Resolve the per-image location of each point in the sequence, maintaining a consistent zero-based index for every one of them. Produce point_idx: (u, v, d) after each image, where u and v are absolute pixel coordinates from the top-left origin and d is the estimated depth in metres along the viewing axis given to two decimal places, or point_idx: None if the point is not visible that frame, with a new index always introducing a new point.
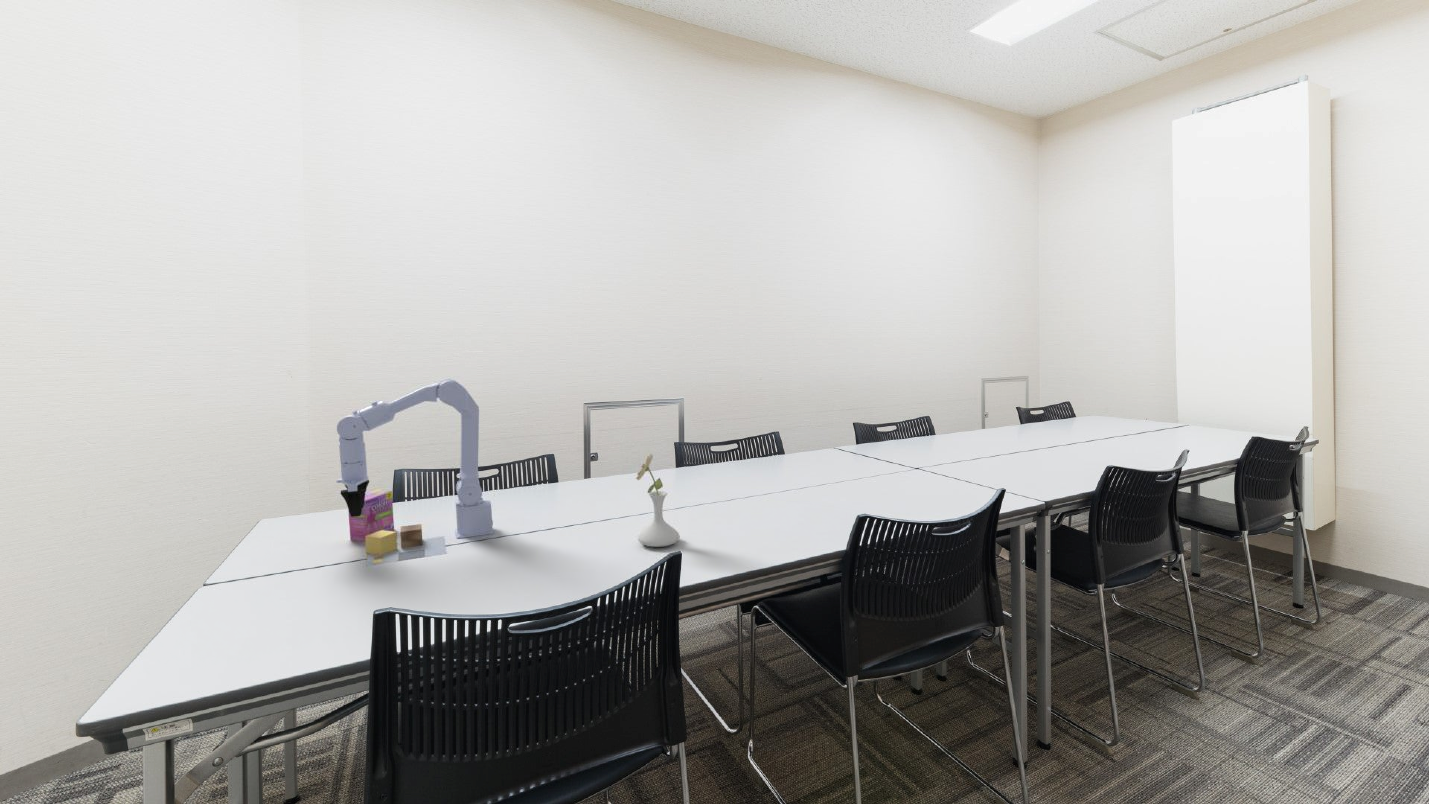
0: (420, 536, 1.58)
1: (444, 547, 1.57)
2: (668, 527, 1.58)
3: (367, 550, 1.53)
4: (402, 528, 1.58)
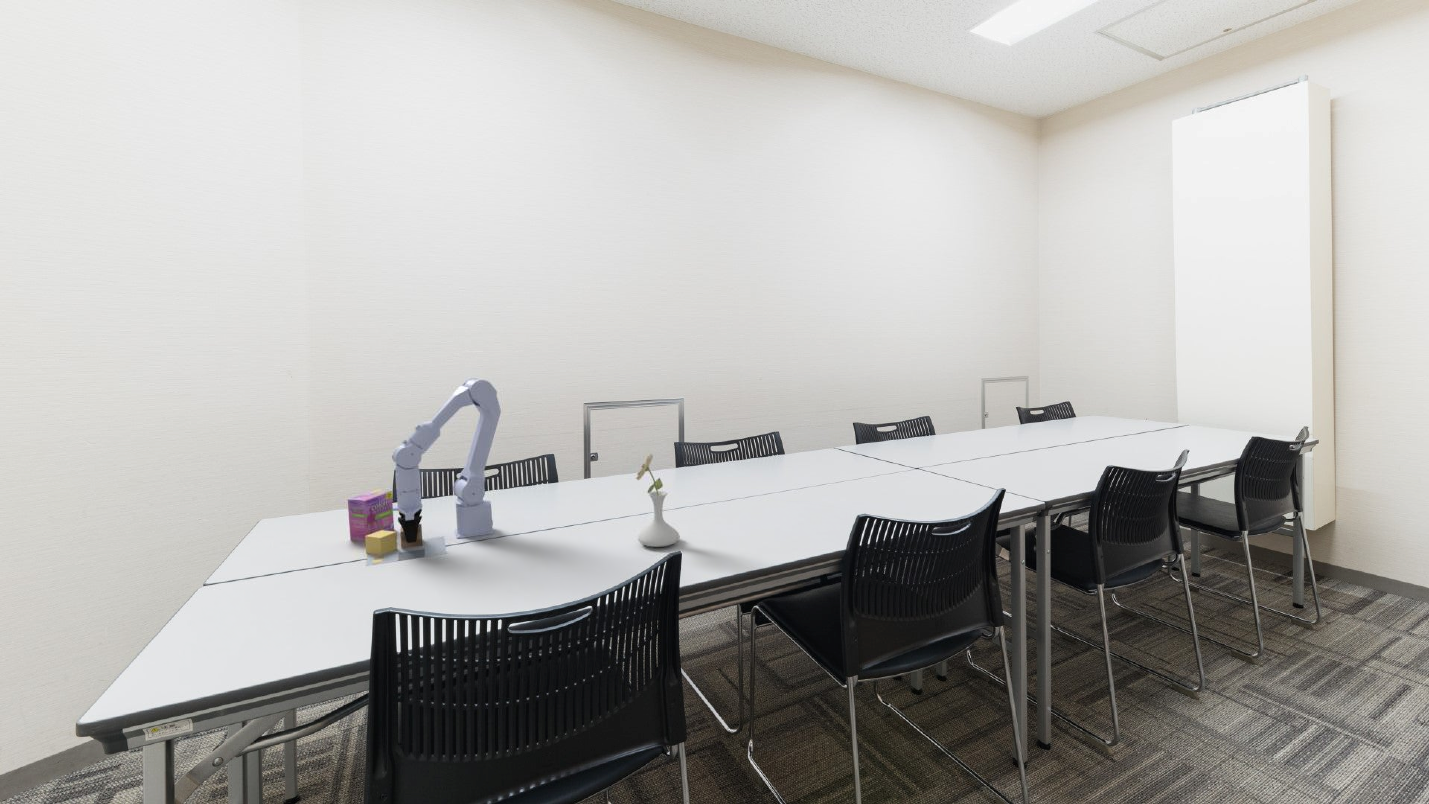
0: (420, 536, 1.58)
1: (444, 547, 1.57)
2: (668, 527, 1.58)
3: (367, 550, 1.53)
4: (402, 528, 1.58)
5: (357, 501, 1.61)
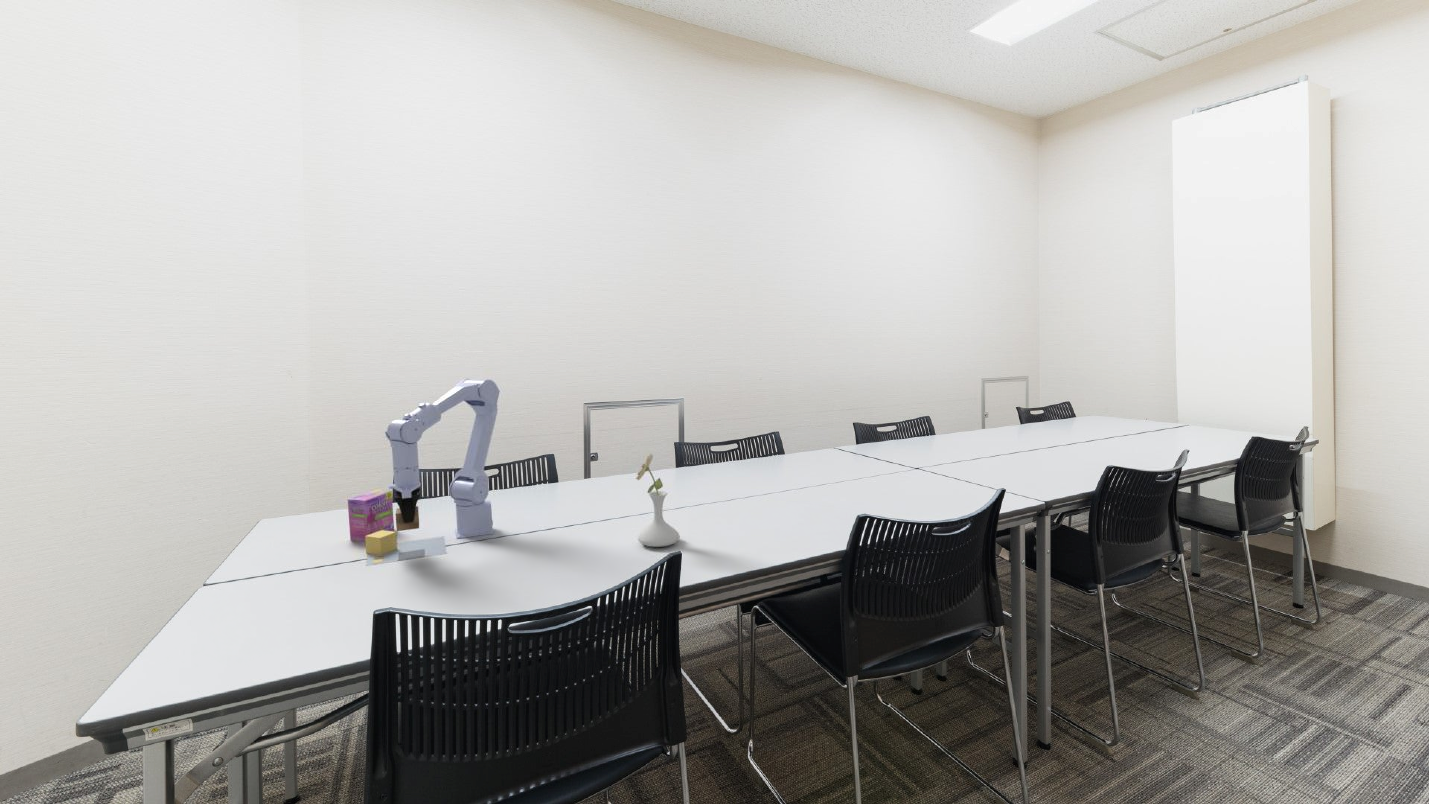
0: (416, 518, 1.49)
1: (444, 547, 1.57)
2: (668, 527, 1.58)
3: (367, 550, 1.53)
4: (398, 510, 1.50)
5: (357, 501, 1.61)
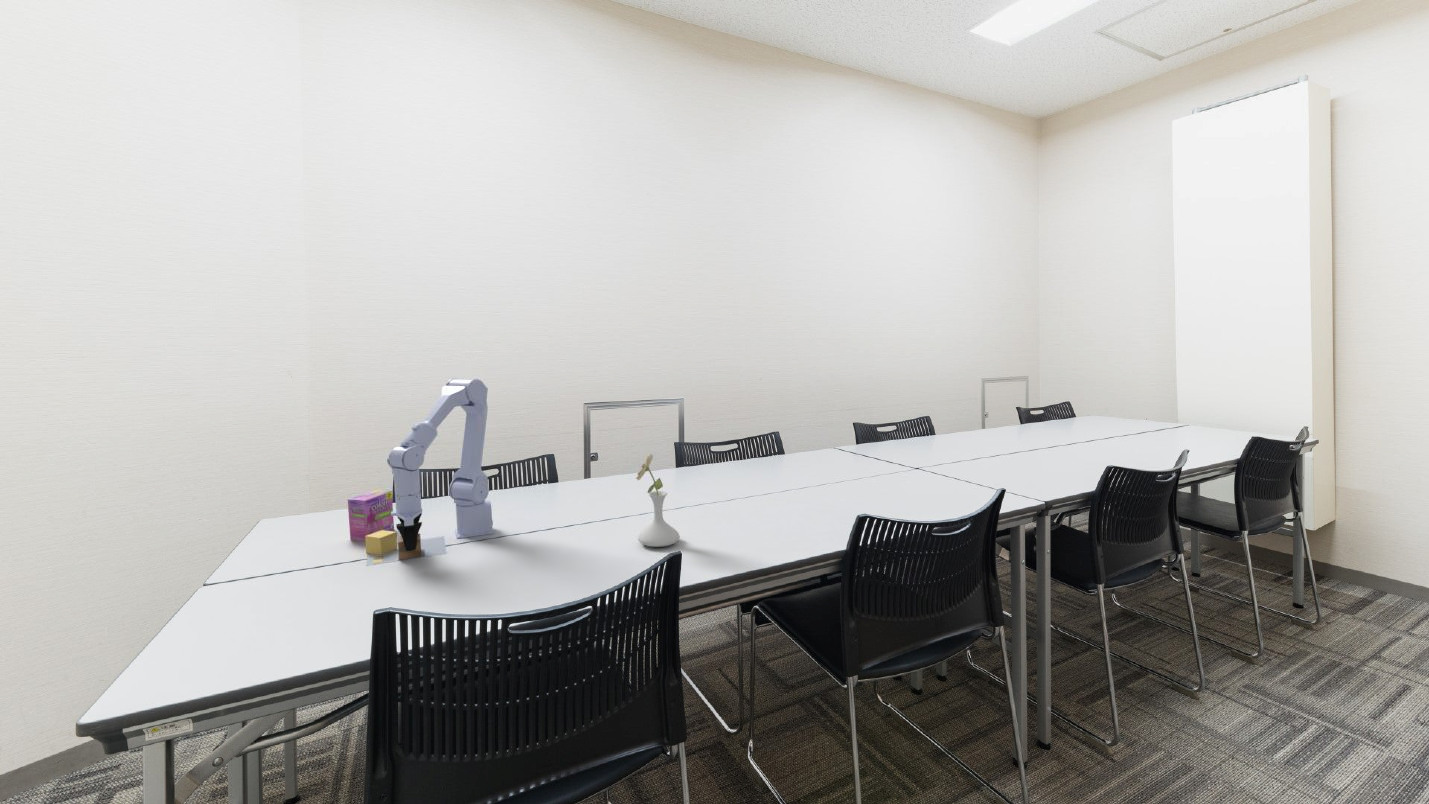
0: (419, 547, 1.50)
1: (444, 547, 1.57)
2: (668, 527, 1.58)
3: (367, 550, 1.53)
4: (400, 538, 1.50)
5: (357, 501, 1.61)
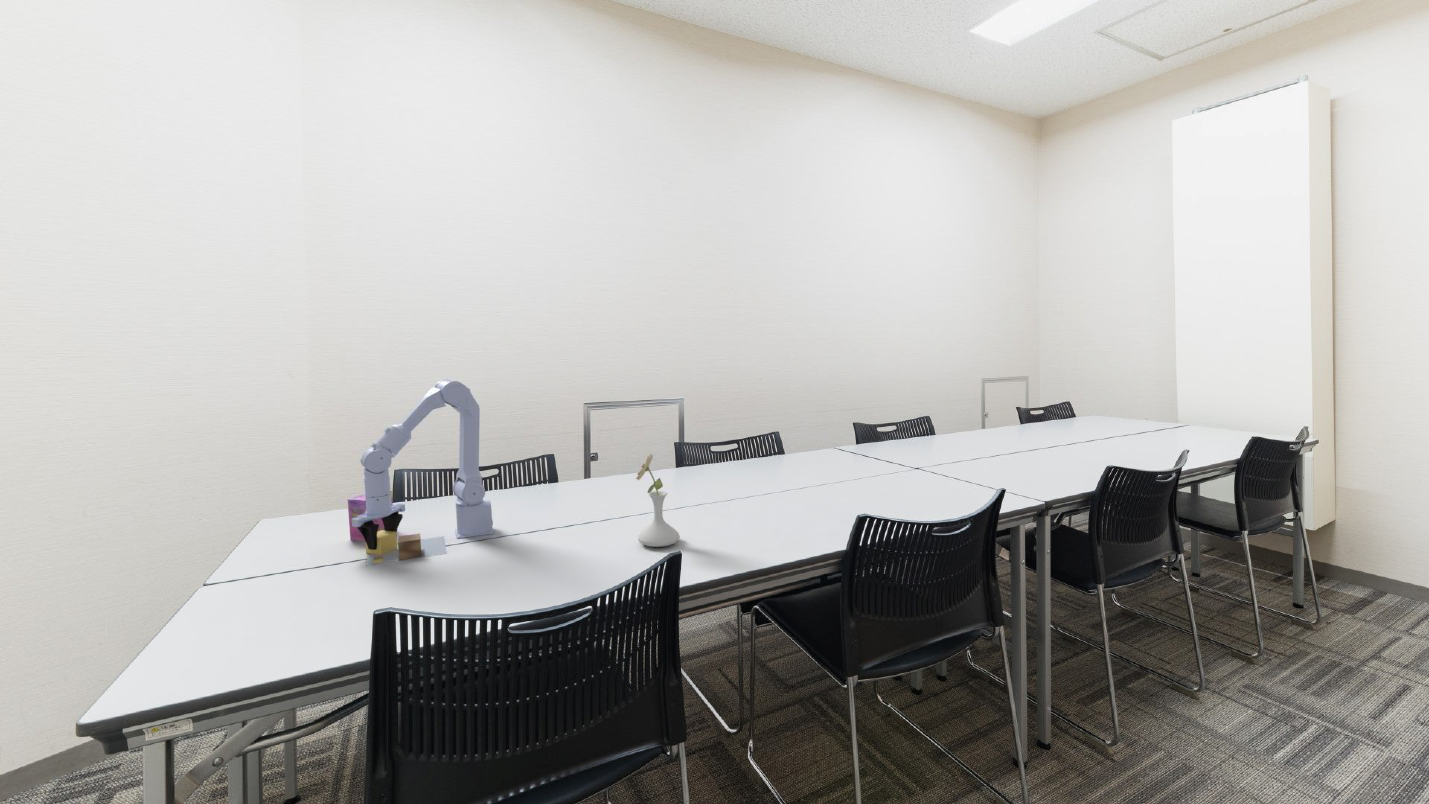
0: (419, 547, 1.50)
1: (444, 547, 1.57)
2: (668, 527, 1.58)
3: (367, 550, 1.53)
4: (400, 538, 1.50)
5: (357, 501, 1.61)
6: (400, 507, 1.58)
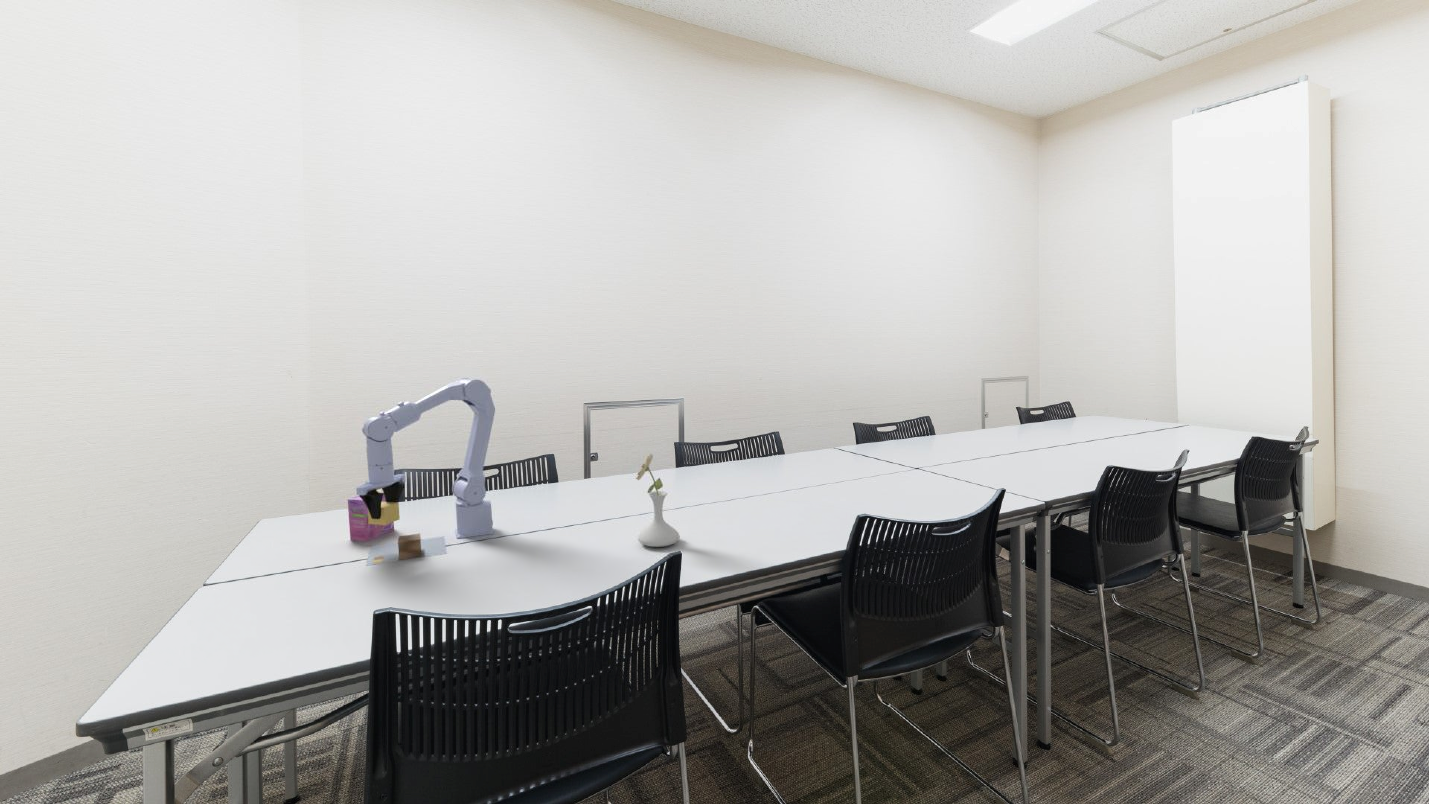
0: (419, 547, 1.50)
1: (444, 547, 1.57)
2: (668, 527, 1.58)
3: (369, 521, 1.51)
4: (400, 538, 1.50)
5: (357, 501, 1.61)
6: (401, 477, 1.57)
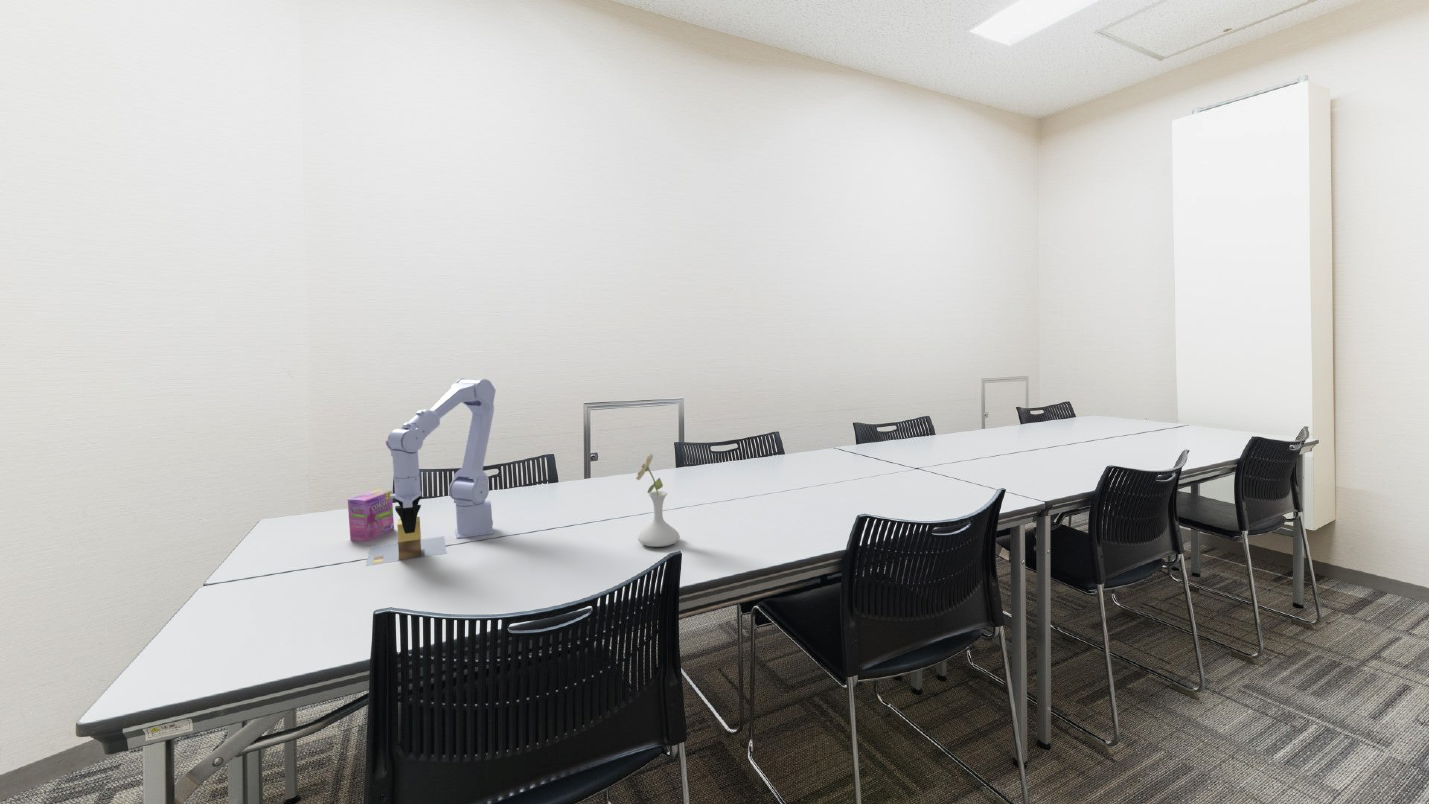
0: (419, 547, 1.50)
1: (444, 547, 1.57)
2: (668, 527, 1.58)
3: (400, 538, 1.48)
4: None
5: (357, 501, 1.61)
6: None
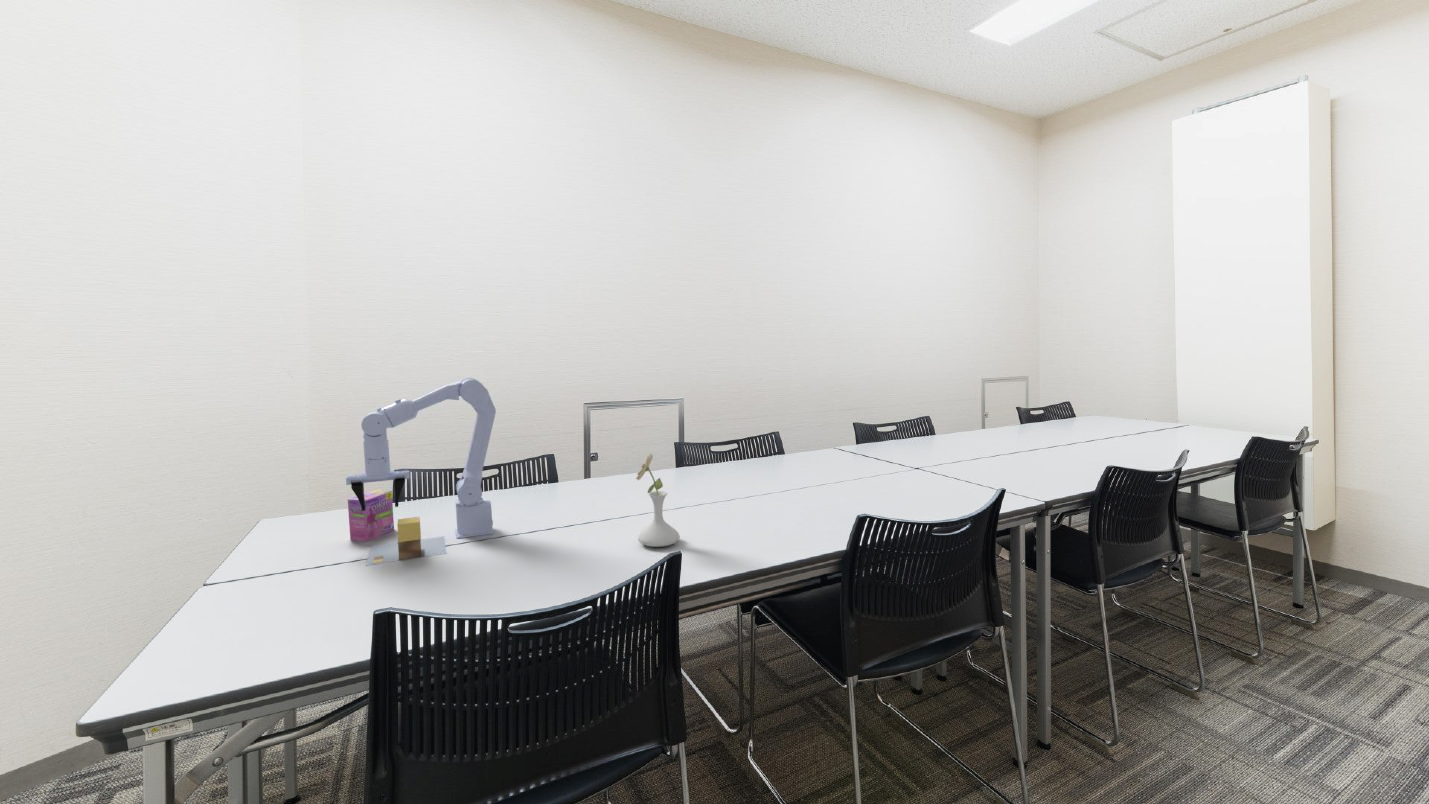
0: (419, 547, 1.50)
1: (444, 547, 1.57)
2: (668, 527, 1.58)
3: (400, 538, 1.48)
4: None
5: (357, 501, 1.61)
6: (401, 474, 1.58)
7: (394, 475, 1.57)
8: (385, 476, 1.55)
